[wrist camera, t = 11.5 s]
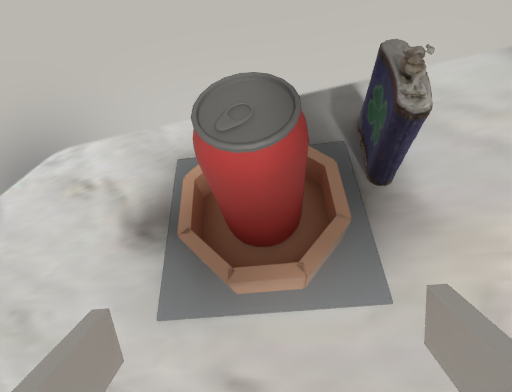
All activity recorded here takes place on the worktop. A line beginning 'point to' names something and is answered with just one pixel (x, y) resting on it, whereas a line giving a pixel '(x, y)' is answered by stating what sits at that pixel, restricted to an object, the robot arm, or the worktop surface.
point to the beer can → (253, 154)
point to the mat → (309, 298)
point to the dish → (277, 256)
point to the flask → (393, 108)
